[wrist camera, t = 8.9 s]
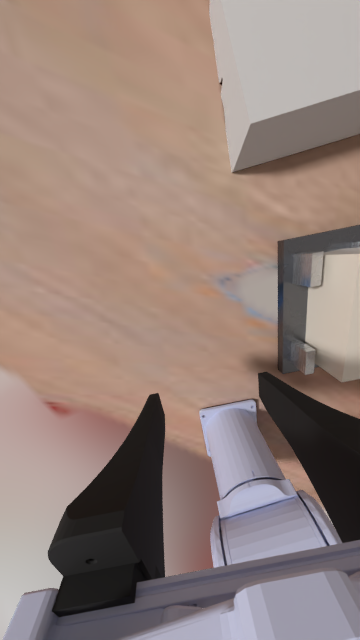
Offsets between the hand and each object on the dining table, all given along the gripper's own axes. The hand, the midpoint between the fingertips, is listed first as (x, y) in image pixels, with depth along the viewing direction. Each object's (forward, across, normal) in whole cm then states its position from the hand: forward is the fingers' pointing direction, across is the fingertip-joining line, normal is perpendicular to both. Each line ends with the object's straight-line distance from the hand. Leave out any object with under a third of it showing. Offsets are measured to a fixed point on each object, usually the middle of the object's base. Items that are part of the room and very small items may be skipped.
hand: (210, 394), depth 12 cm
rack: (+9, -15, -1) cm, 18 cm away
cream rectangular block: (+8, -15, -1) cm, 17 cm away
